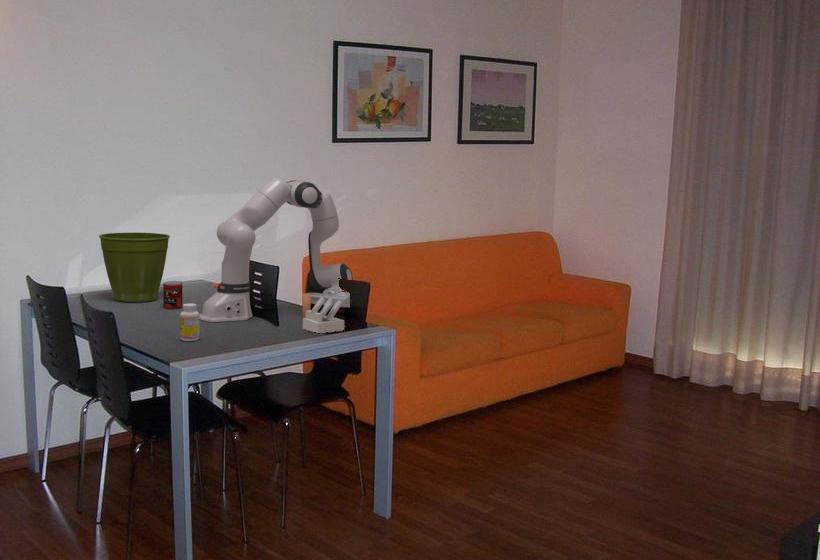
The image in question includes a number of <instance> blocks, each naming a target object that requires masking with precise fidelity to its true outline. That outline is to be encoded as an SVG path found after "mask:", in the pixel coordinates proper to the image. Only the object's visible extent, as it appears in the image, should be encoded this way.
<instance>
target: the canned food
mask: <svg viewBox="0 0 820 560" xmlns="http://www.w3.org/2000/svg"><path fill="white" fill-rule="evenodd" d="M162 289H163V290H162V291H163V292H162V293H163V295H162V296H163V297H162V298H163V299H162V300H163V302H162V303H163V308H164V309H165V310H180V309H183V282H182V281H178V280H168V281H163V283H162Z"/></svg>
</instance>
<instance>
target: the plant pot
mask: <svg viewBox="0 0 820 560" xmlns="http://www.w3.org/2000/svg"><path fill="white" fill-rule="evenodd" d="M98 238H100V247H101V251H102V257H103V262H104V266H105V269H106V270H105V271H106V275H107V278H108V281H109V285H110V287H111V292H112V299H113V300H114V301H117V302H125V303H143V302H144V303H145V302H151V301H155V300H157V299H158V298H159V289H160V287H161V283H162V279H163V275H164V271H165V266H166V261H167V254H168V253H167V252H168V249H169V240H170V238H171V235H169V234H165V233H156V232H135V231H134V232H109V233H102V234H99V235H98Z"/></svg>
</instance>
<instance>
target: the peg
mask: <svg viewBox="0 0 820 560" xmlns="http://www.w3.org/2000/svg"><path fill="white" fill-rule="evenodd" d="M309 293H310V292H306V293H302V296H303V301H302V317H301V318H302V319H301V320H302V322H301V323H302V325H303V318H306V311H307V310H310V311H311V310H312V309H311V306H312V304H311V294H309Z"/></svg>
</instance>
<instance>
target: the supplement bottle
mask: <svg viewBox="0 0 820 560" xmlns="http://www.w3.org/2000/svg"><path fill="white" fill-rule="evenodd" d="M182 309H183V311H181V312H180V314H179V338H180V340H181V341H182V342H194V341H199V339H200V319H199V314H200V313H199V311H198V310H197V304H196V303H191V302H190V303H184V304H183V303H182Z"/></svg>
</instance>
